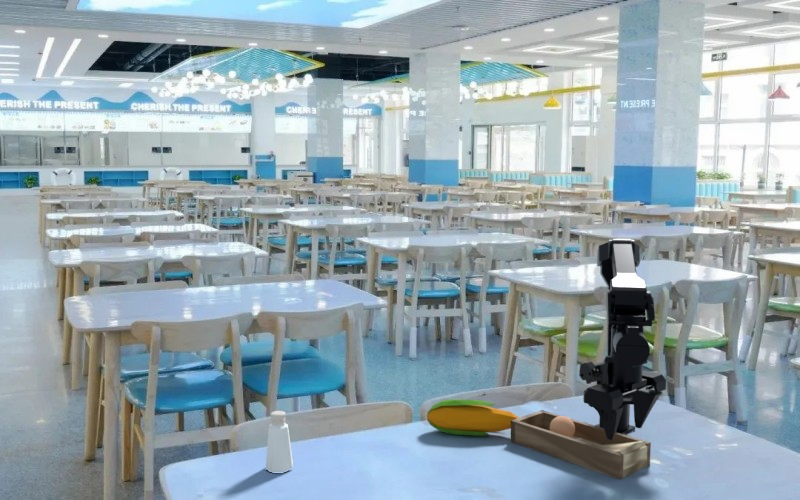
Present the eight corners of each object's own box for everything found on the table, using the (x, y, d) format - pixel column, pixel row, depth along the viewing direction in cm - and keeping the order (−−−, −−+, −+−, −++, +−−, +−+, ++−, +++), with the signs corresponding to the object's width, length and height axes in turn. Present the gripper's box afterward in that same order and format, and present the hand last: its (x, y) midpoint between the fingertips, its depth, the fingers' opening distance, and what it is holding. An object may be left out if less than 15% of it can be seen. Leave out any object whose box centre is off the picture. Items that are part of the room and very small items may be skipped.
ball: (575, 442, 166) (583, 422, 164) (560, 449, 162) (567, 428, 160) (557, 428, 169) (564, 408, 167) (541, 434, 166) (548, 414, 164)
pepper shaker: (298, 465, 157) (297, 409, 156) (285, 476, 152) (284, 418, 151) (273, 461, 159) (271, 406, 157) (259, 472, 154) (258, 415, 152)
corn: (429, 391, 178) (522, 395, 175) (429, 424, 179) (522, 429, 176) (424, 404, 171) (521, 408, 167) (425, 438, 172) (521, 443, 169)
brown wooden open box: (541, 430, 175) (542, 408, 175) (649, 465, 156) (650, 440, 155) (510, 441, 169) (510, 418, 168) (619, 479, 149) (620, 453, 149)
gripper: (618, 336, 164) (616, 412, 166) (560, 352, 151) (558, 434, 153) (668, 346, 155) (666, 426, 157) (611, 364, 143) (609, 450, 145)
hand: (624, 433), depth 154 cm, fingers open, 9 cm apart
